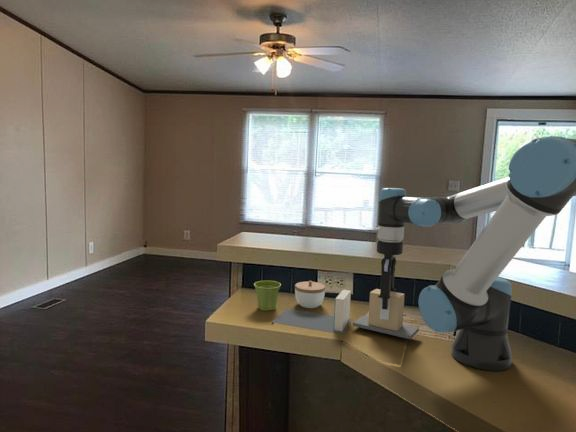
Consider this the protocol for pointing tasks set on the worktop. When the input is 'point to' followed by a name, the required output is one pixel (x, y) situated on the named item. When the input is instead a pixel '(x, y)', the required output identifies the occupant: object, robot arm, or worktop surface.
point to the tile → (342, 310)
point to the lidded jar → (309, 294)
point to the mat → (308, 320)
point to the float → (395, 317)
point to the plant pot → (267, 294)
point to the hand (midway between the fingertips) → (385, 315)
